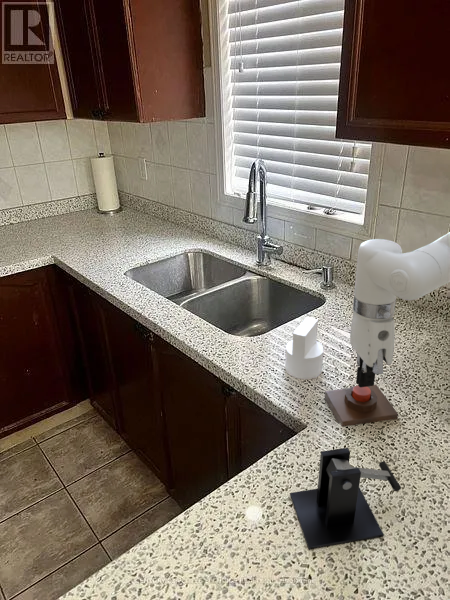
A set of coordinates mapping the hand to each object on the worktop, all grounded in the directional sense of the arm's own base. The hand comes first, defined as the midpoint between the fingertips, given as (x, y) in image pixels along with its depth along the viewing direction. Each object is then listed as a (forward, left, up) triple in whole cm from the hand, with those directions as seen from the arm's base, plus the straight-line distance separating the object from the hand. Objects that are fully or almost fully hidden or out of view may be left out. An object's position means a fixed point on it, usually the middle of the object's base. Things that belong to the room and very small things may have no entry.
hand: (364, 384), depth 92 cm
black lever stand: (+15, +24, -7) cm, 29 cm away
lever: (+12, +24, +1) cm, 26 cm away
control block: (0, 0, -7) cm, 7 cm away
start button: (0, 0, -4) cm, 4 cm away
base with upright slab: (+7, -17, -7) cm, 20 cm away
